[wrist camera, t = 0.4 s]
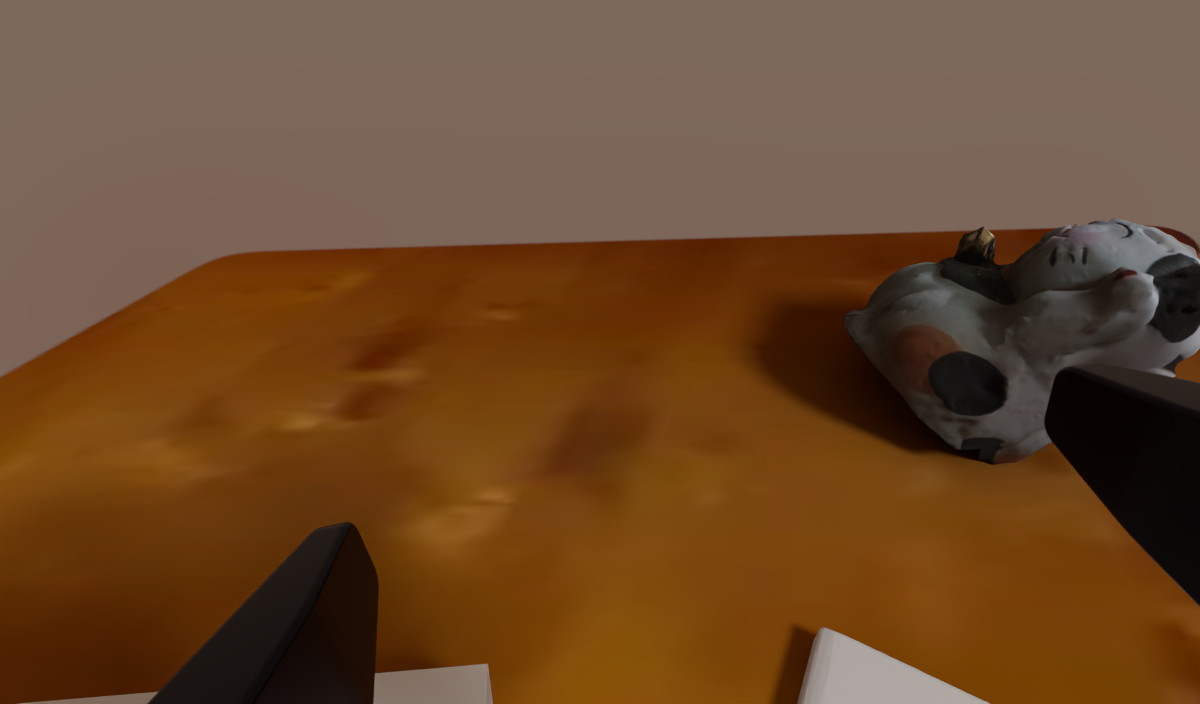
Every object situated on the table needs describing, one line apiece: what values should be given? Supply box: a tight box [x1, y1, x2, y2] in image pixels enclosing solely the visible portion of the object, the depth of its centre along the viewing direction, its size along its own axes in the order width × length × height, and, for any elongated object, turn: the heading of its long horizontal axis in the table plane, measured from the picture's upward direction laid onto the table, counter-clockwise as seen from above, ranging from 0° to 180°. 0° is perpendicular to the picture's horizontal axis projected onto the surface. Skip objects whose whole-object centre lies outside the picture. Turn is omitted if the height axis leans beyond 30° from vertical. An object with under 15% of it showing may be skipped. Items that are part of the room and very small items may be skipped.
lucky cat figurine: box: [843, 218, 1200, 464], centre depth 32 cm, size 15×12×14 cm
